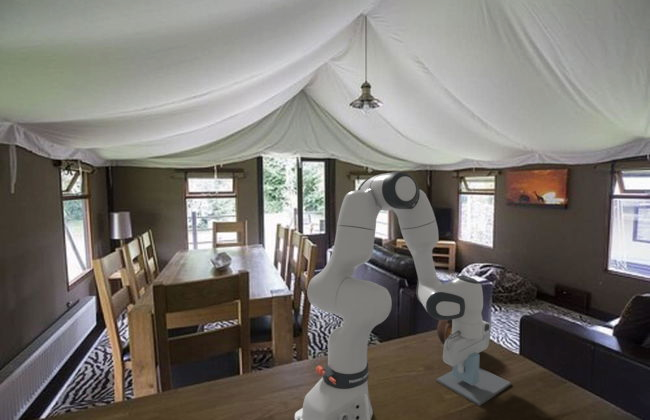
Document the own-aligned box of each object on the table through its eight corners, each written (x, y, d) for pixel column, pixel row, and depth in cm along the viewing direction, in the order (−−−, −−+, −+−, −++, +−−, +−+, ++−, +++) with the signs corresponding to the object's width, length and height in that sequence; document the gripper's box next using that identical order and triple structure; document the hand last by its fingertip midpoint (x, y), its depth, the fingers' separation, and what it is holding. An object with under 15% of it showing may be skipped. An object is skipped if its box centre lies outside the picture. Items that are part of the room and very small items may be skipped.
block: (472, 385, 103) (473, 357, 102) (452, 375, 108) (453, 348, 107) (478, 381, 105) (479, 354, 104) (458, 371, 110) (459, 345, 109)
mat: (479, 405, 97) (479, 403, 97) (436, 381, 109) (436, 378, 109) (510, 384, 107) (510, 382, 107) (468, 364, 119) (468, 362, 119)
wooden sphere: (457, 338, 140) (457, 303, 139) (487, 355, 126) (488, 316, 125) (428, 345, 134) (429, 309, 133) (456, 363, 120) (457, 323, 119)
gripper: (456, 340, 96) (455, 385, 97) (493, 322, 108) (492, 363, 109) (438, 332, 102) (437, 375, 103) (475, 316, 113) (474, 355, 114)
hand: (466, 369), depth 106 cm, fingers closed on block, 3 cm apart
